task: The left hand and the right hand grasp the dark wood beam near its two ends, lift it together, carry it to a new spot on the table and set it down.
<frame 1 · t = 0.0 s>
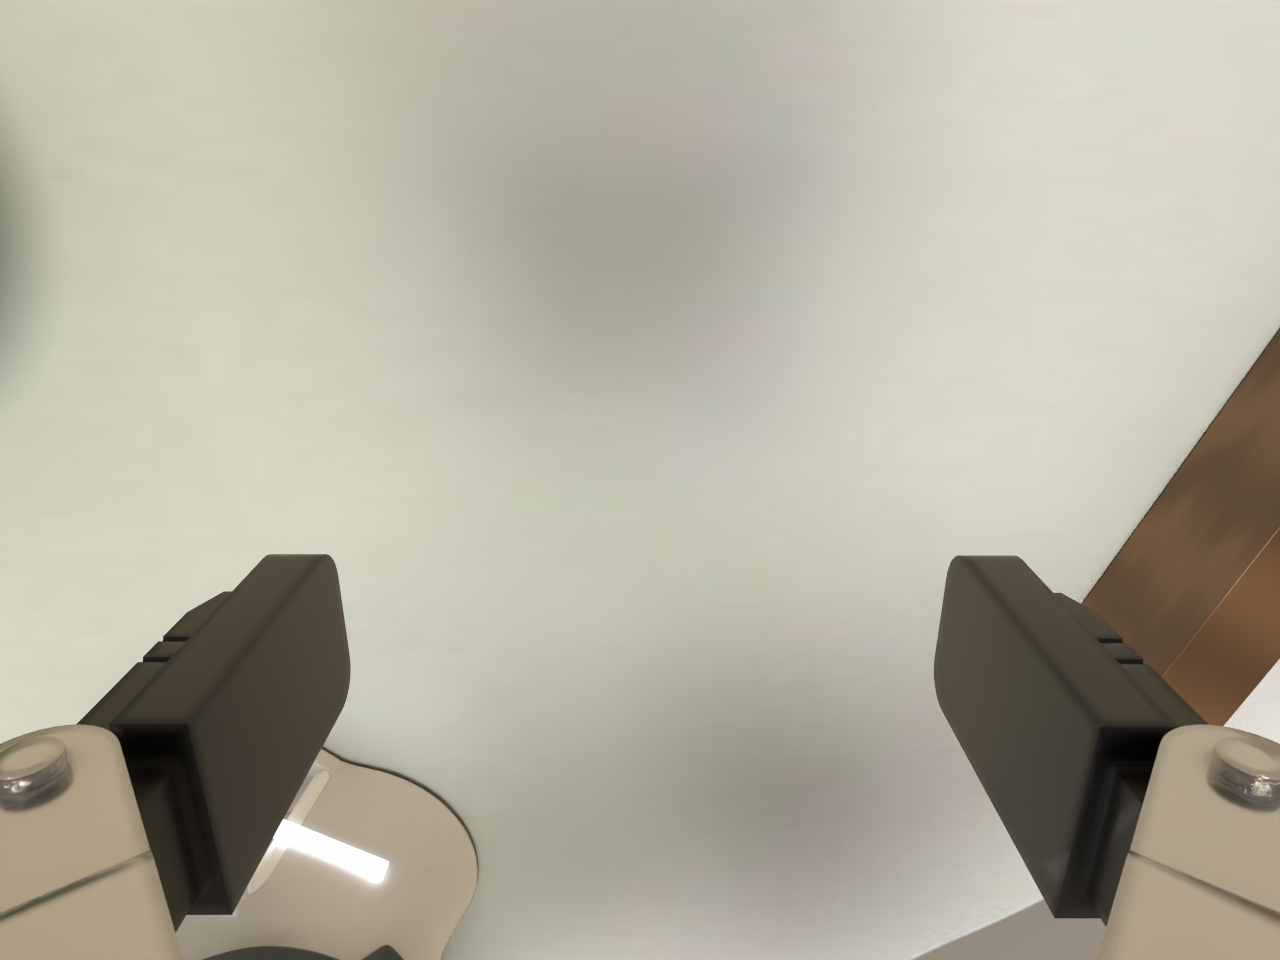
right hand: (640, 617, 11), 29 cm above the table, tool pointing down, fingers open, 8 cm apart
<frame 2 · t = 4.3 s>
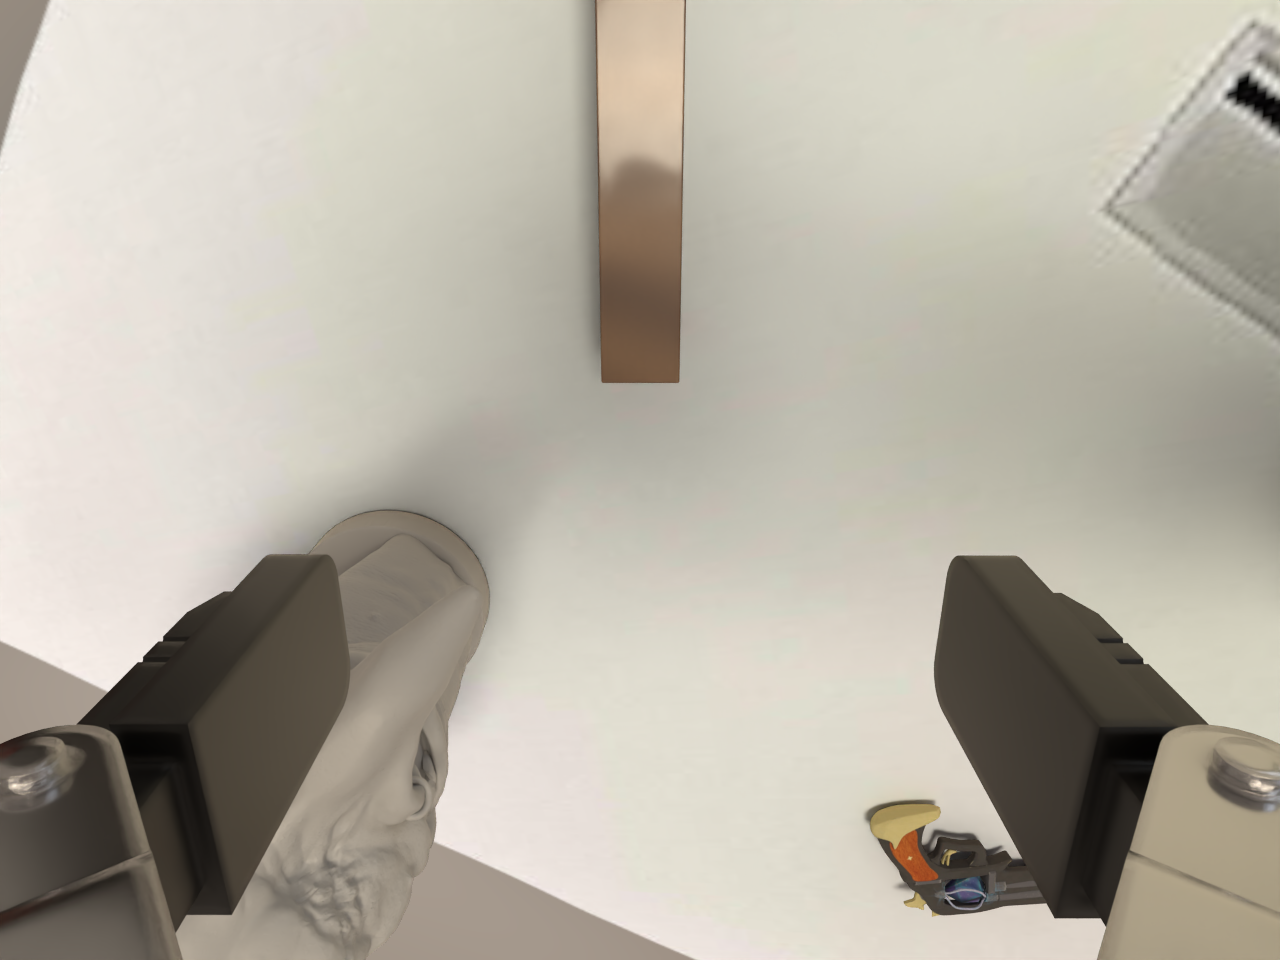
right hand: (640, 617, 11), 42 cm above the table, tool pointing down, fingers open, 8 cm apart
bust sculpture: (417, 547, 57), on the table
toy gun: (984, 846, 67), on the table
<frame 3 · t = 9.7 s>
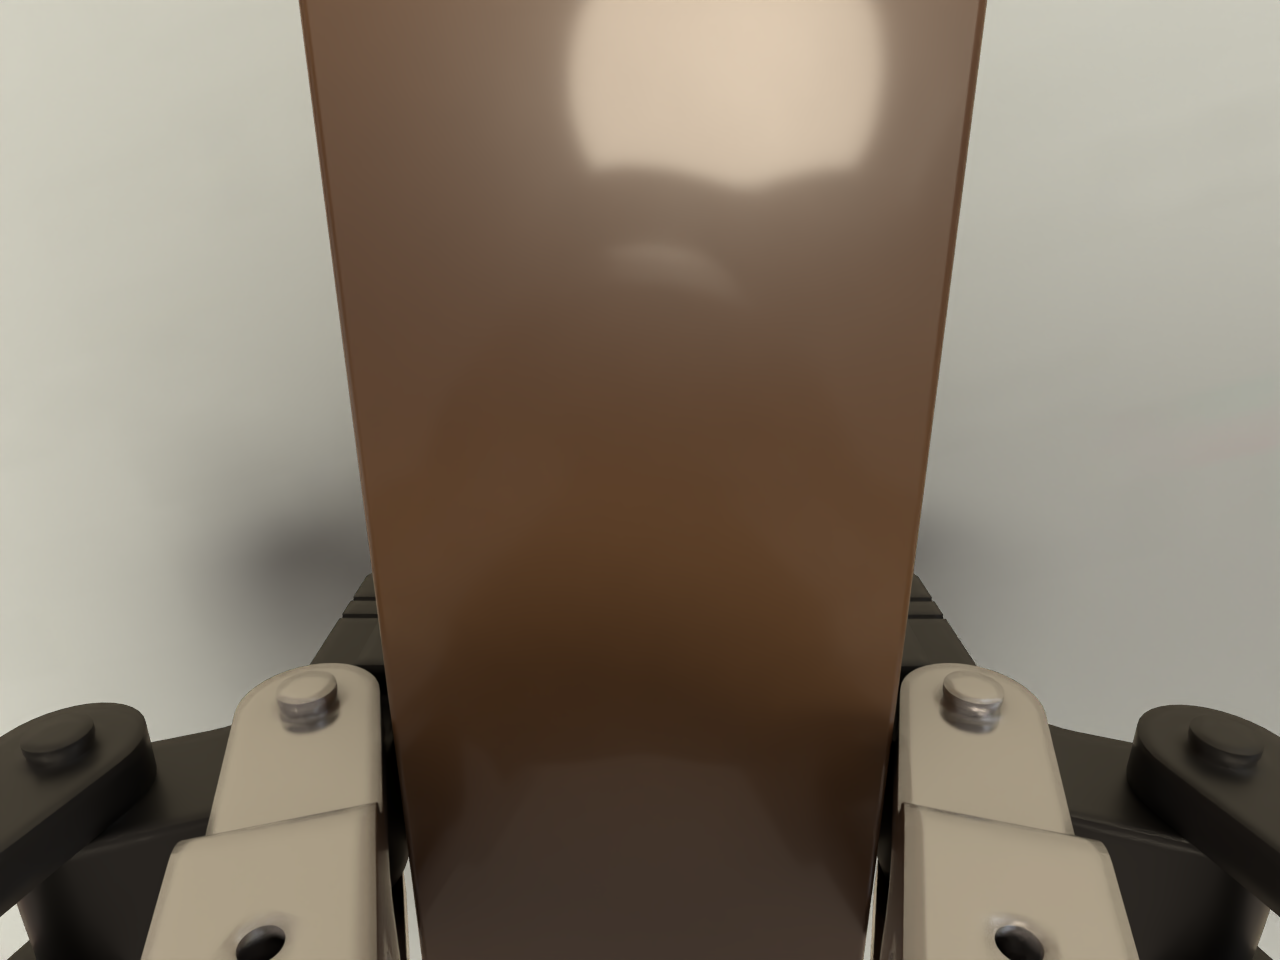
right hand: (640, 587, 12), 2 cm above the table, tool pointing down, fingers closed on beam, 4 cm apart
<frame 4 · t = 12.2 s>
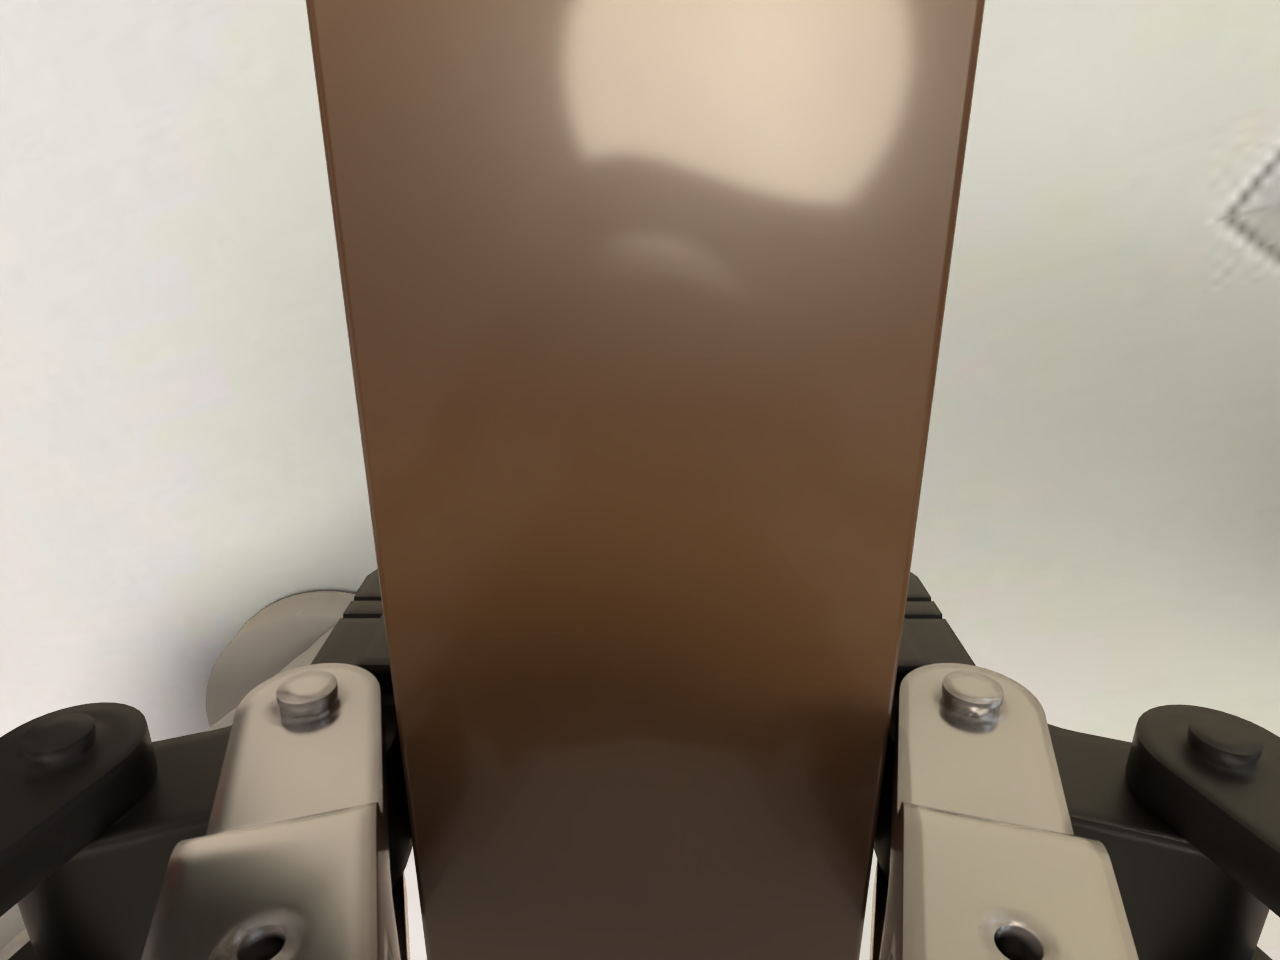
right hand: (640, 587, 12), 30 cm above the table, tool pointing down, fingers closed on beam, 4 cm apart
bust sculpture: (364, 633, 47), on the table
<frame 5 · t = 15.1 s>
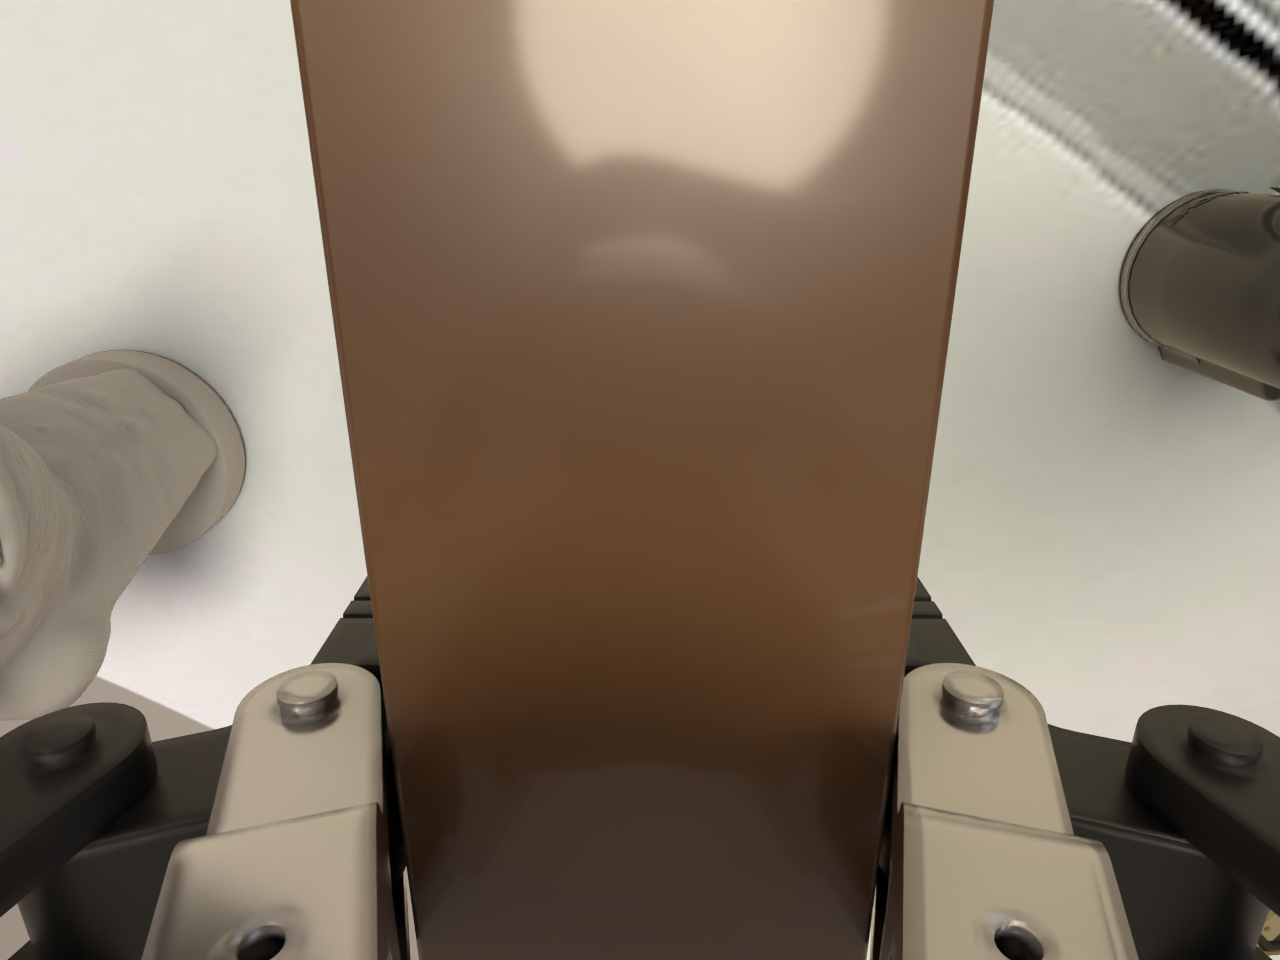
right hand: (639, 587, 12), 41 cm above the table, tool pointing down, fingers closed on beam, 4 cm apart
bust sculpture: (160, 394, 53), on the table
spray gun: (1188, 901, 69), on the table
when the left hand's fingers open (5 cm above the table, at t = 20.6 s): beam drops 1 cm, on the table.
when the right hand's fingers open (4 cm above the table, at t = 20.6 s): beam drops 1 cm, on the table.
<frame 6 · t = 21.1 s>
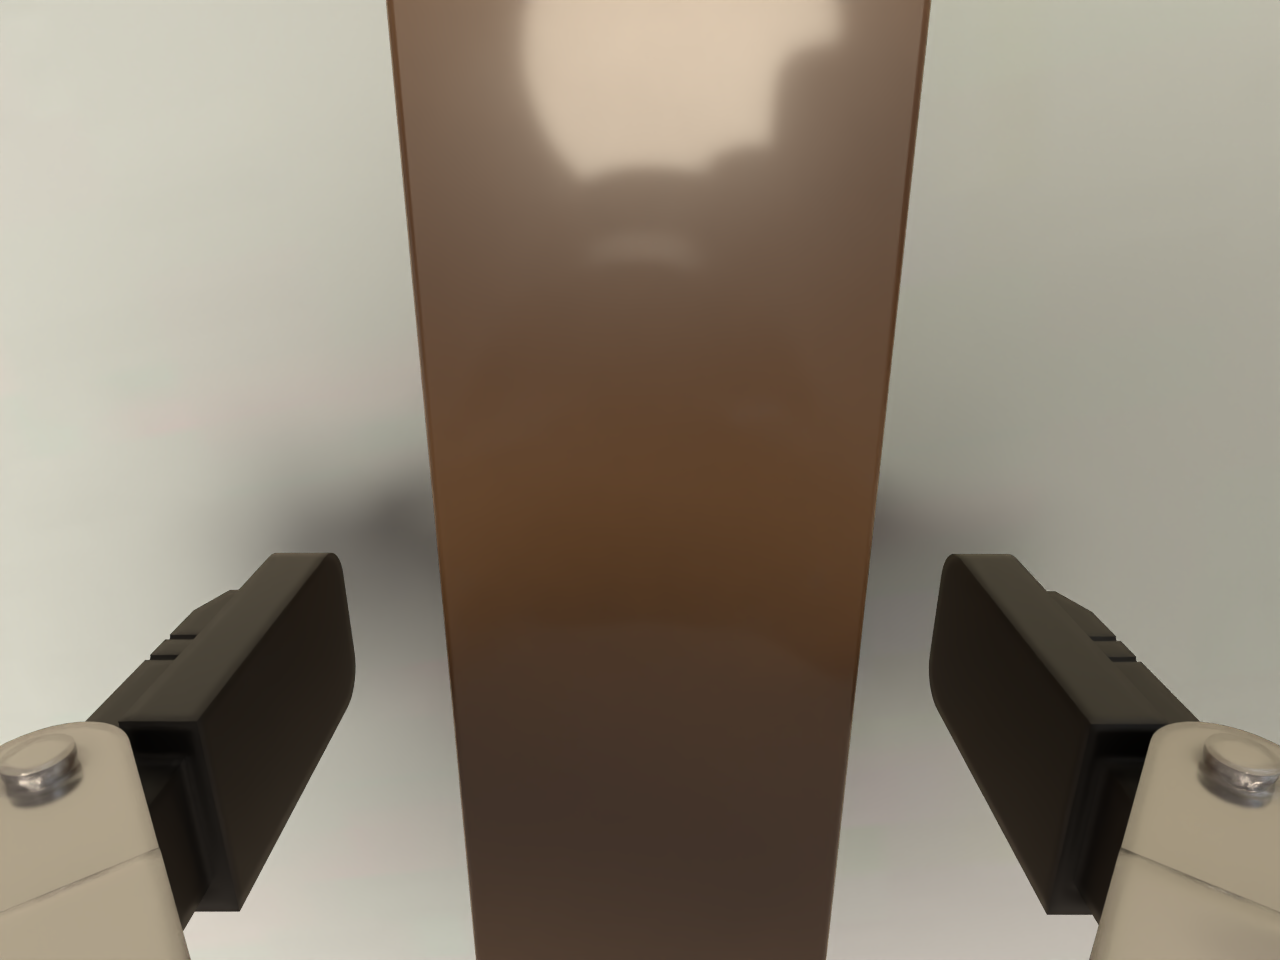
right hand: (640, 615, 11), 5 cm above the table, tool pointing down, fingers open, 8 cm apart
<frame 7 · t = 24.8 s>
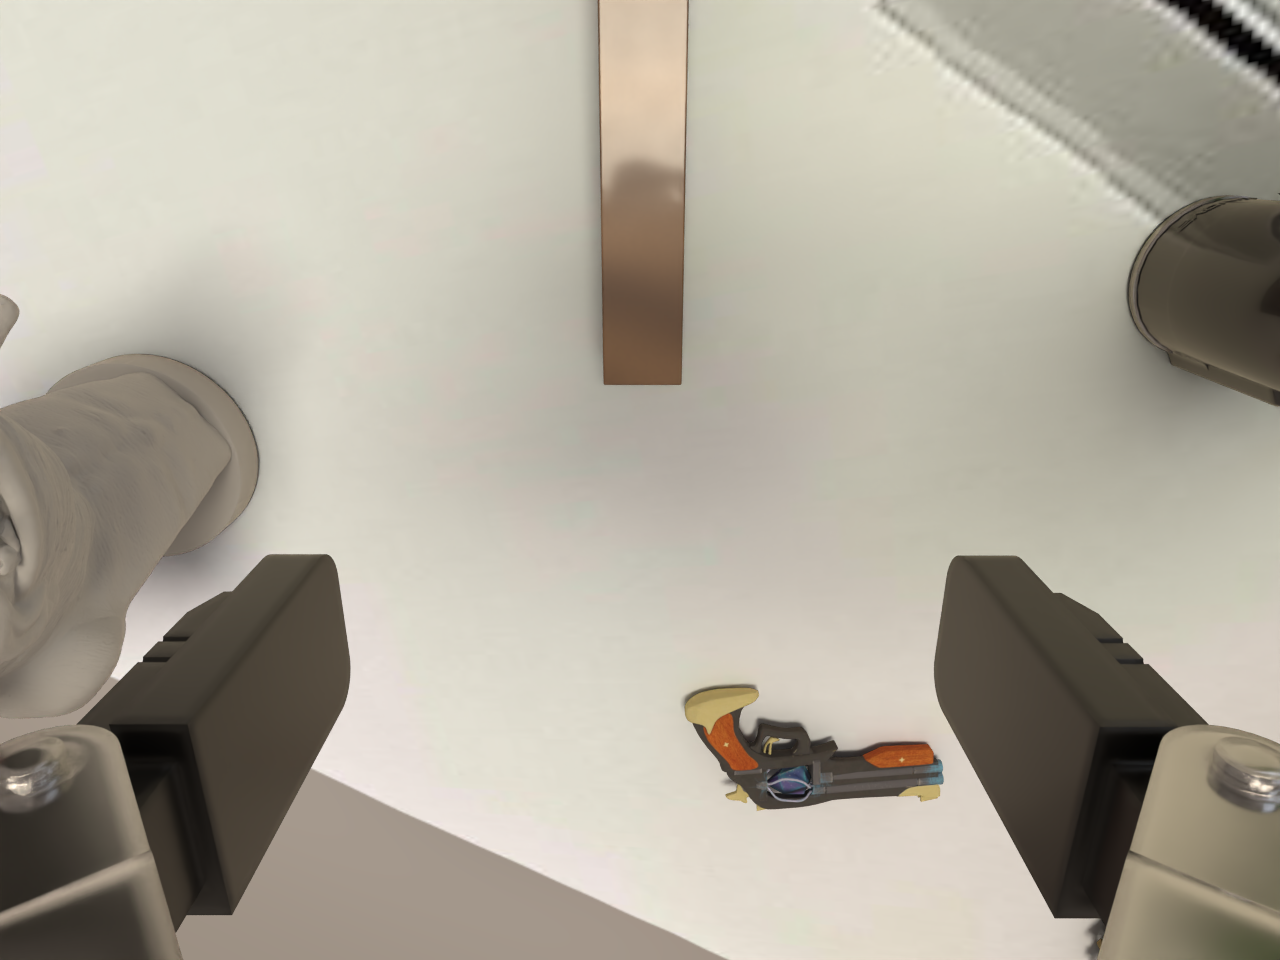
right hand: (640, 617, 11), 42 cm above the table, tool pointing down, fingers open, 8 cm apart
bust sculpture: (175, 397, 54), on the table
toy gun: (812, 736, 63), on the table
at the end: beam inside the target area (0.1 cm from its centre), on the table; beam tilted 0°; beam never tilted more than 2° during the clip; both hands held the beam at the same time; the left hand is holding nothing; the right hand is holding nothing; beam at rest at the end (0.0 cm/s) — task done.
